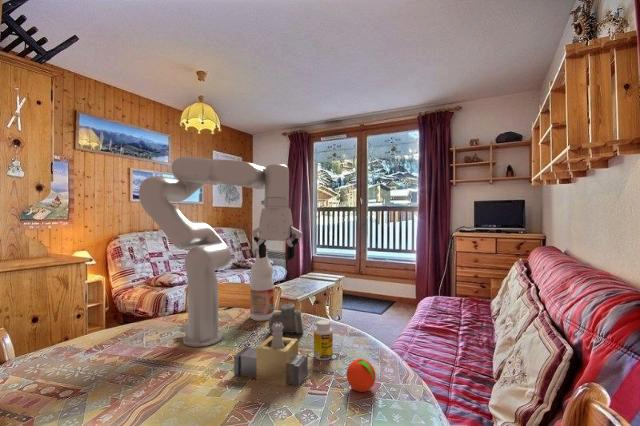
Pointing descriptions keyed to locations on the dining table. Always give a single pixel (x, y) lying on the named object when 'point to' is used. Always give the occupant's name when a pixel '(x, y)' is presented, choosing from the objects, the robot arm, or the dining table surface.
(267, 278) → the fruit juice
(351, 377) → the clementine
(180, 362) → the dining table surface
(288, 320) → the pipe fitting
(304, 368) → the valve body
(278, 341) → the rook chess piece
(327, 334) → the supplement bottle
